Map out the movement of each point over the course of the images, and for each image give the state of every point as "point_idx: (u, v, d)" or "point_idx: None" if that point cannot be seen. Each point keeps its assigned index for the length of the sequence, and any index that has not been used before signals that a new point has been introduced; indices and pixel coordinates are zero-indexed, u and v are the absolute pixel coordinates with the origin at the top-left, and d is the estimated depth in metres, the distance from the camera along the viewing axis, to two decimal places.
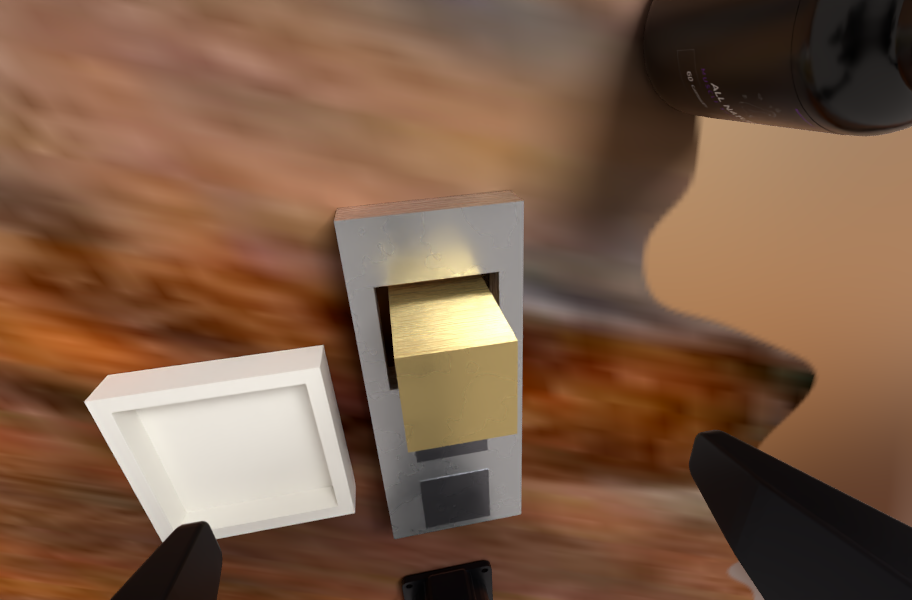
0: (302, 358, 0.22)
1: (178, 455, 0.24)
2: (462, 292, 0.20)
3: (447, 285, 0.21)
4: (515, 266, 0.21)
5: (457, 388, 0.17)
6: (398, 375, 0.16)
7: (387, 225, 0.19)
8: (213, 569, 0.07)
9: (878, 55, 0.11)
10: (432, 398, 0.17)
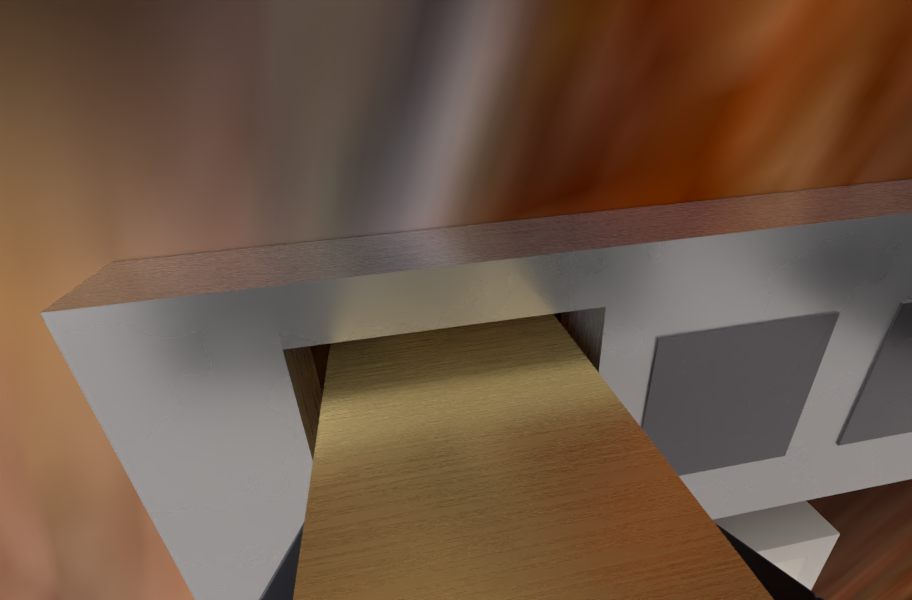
0: None
1: None
2: None
3: None
4: (261, 309, 0.07)
5: None
6: None
7: (198, 560, 0.09)
8: None
9: None
10: None
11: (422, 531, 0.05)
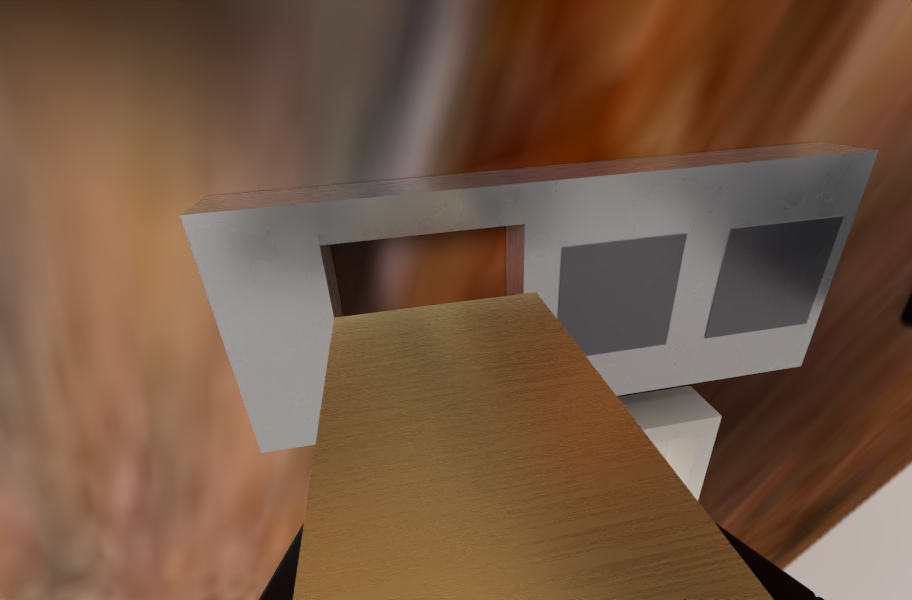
0: None
1: None
2: None
3: None
4: (307, 217, 0.12)
5: None
6: None
7: (258, 400, 0.14)
8: None
9: None
10: None
11: (421, 528, 0.05)
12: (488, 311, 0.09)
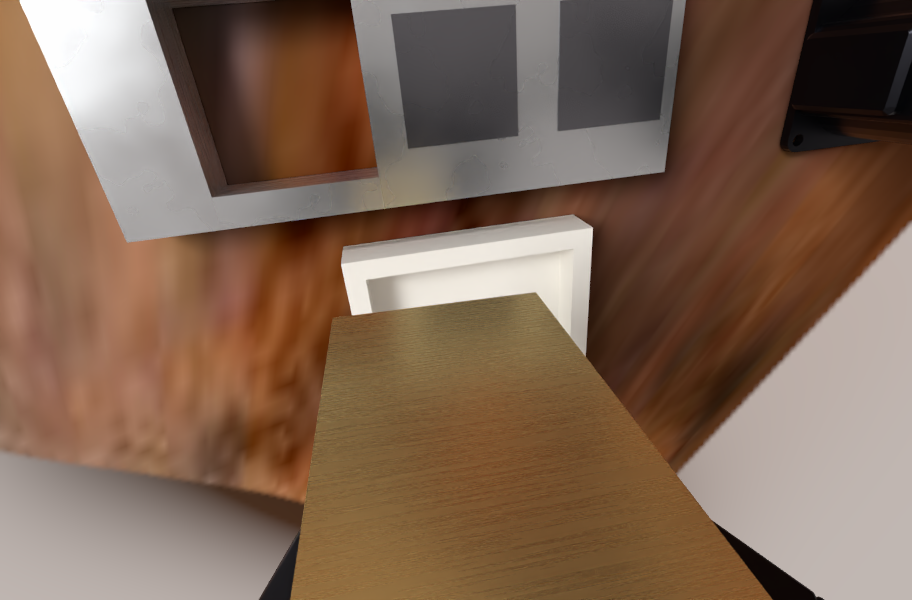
0: None
1: None
2: None
3: None
4: None
5: None
6: None
7: (113, 178, 0.15)
8: None
9: None
10: None
11: (420, 531, 0.05)
12: (487, 311, 0.09)
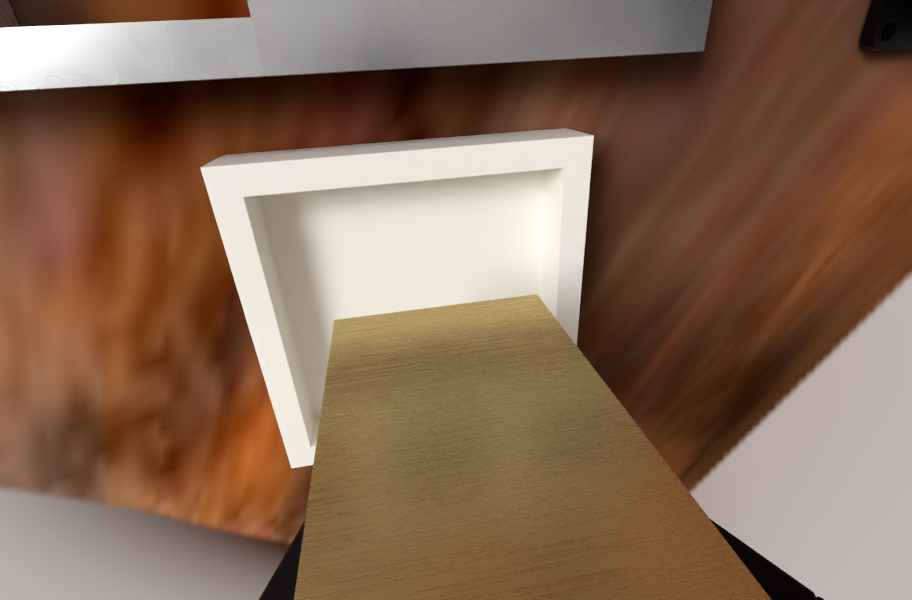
0: None
1: None
2: None
3: None
4: None
5: None
6: None
7: None
8: None
9: None
10: None
11: (421, 534, 0.05)
12: (489, 314, 0.09)
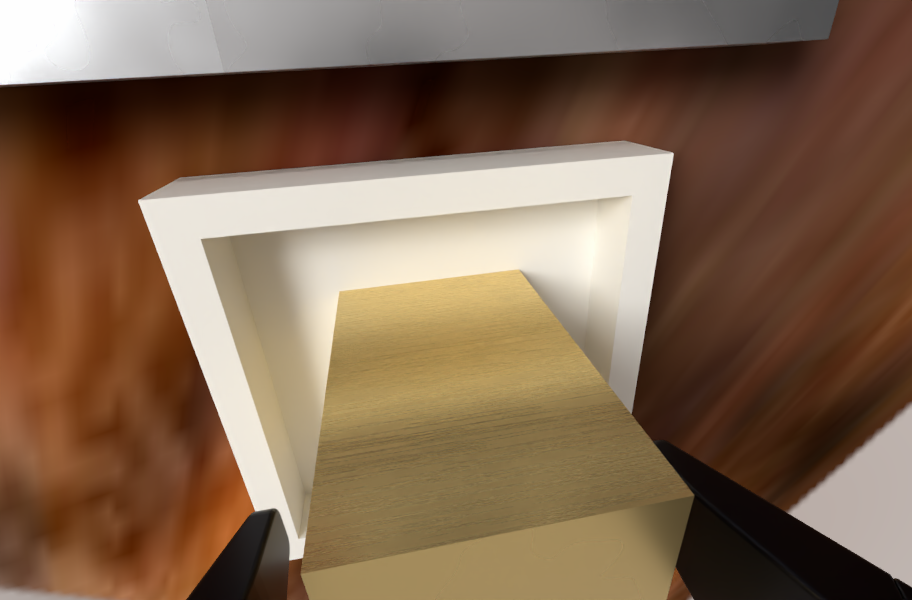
0: None
1: None
2: None
3: None
4: None
5: None
6: None
7: None
8: (284, 556, 0.08)
9: None
10: None
11: (413, 440, 0.06)
12: (475, 285, 0.11)
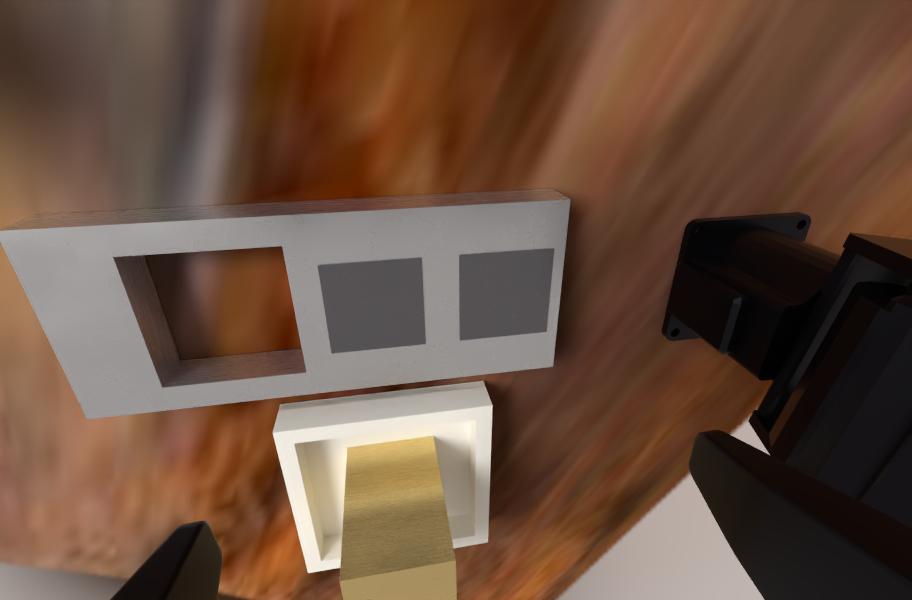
0: None
1: None
2: None
3: None
4: (100, 236, 0.15)
5: None
6: None
7: (78, 375, 0.17)
8: (213, 569, 0.07)
9: None
10: None
11: (374, 536, 0.19)
12: (410, 447, 0.23)
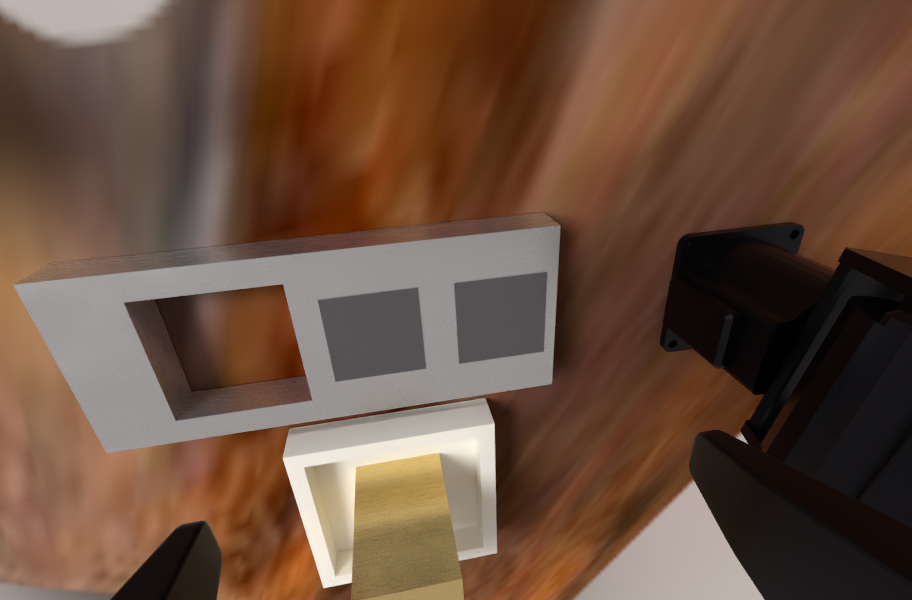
0: None
1: None
2: None
3: None
4: (110, 283, 0.16)
5: None
6: None
7: (96, 413, 0.18)
8: (213, 569, 0.07)
9: None
10: None
11: (383, 556, 0.19)
12: (417, 465, 0.24)
